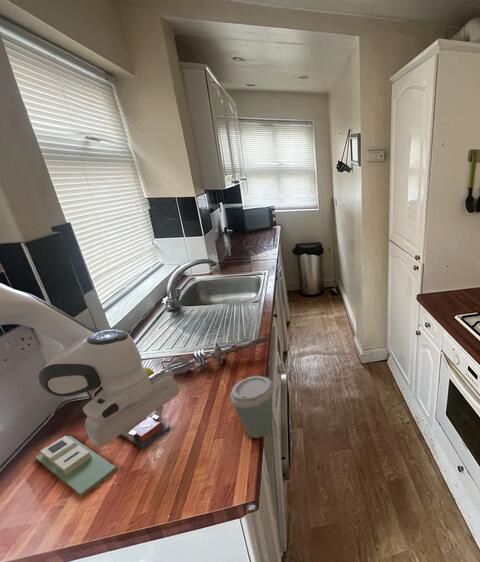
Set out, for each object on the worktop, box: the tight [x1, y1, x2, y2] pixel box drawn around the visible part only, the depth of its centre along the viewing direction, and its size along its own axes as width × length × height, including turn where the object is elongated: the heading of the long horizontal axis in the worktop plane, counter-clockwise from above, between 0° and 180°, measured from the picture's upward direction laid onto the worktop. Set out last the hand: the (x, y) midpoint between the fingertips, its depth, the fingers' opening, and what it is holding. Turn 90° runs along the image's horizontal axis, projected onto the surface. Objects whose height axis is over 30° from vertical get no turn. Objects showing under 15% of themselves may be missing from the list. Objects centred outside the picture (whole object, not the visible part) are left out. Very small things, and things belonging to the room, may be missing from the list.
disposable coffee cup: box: [229, 375, 275, 439], centre depth 81 cm, size 11×11×15 cm
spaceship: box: [163, 336, 270, 375], centre depth 110 cm, size 8×35×8 cm
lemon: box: [143, 366, 155, 377], centre depth 99 cm, size 6×6×8 cm
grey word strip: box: [120, 415, 171, 450], centre depth 86 cm, size 22×7×3 cm, turn 65°
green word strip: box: [34, 435, 118, 498], centre depth 75 cm, size 22×7×3 cm, turn 65°
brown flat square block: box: [130, 416, 162, 441], centre depth 83 cm, size 5×5×2 cm
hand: (146, 429), depth 83 cm, fingers closed on brown flat square block, 5 cm apart
